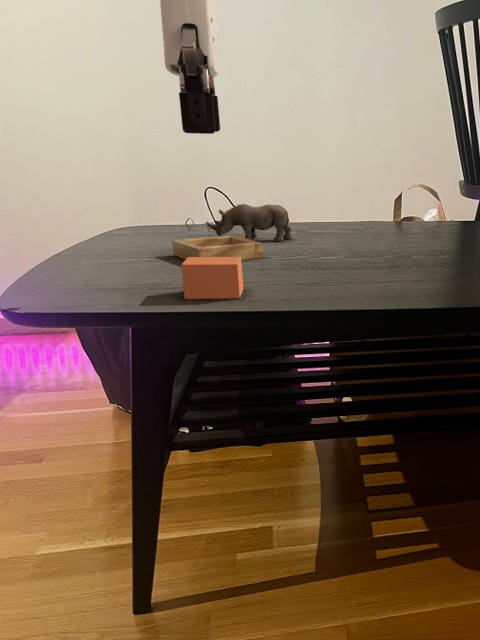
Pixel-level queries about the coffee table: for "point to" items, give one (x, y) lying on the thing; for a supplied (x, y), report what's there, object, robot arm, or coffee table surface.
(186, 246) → the shallow wooden tray
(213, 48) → the robot arm
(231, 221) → the rhino figurine
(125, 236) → the coffee table surface
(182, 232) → the coffee table surface
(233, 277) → the block
